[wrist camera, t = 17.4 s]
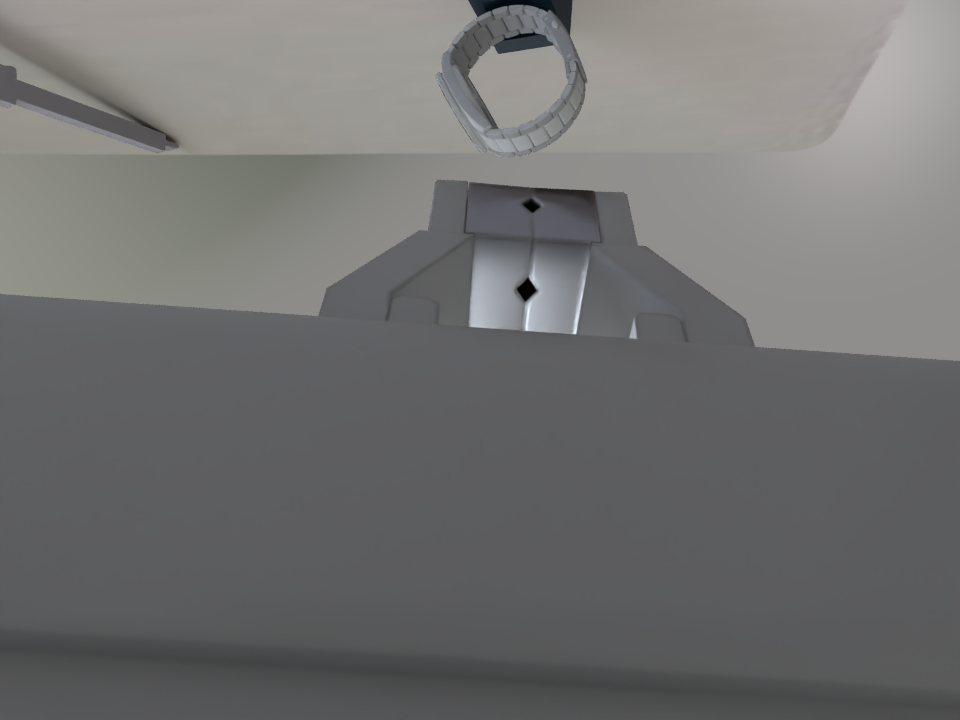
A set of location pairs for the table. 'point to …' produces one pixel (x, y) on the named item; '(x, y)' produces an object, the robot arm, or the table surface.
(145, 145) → the caliper
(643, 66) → the table surface
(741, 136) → the table surface
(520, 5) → the watch
